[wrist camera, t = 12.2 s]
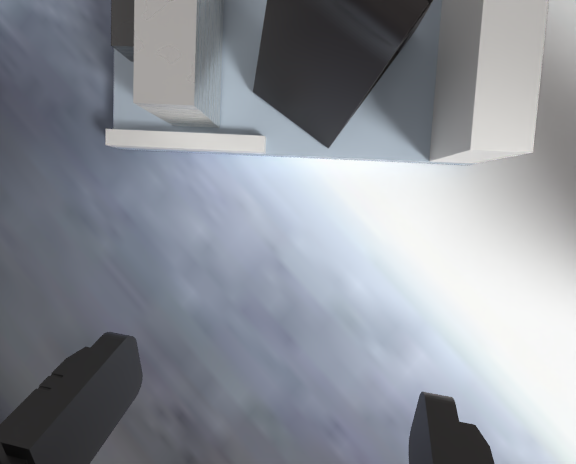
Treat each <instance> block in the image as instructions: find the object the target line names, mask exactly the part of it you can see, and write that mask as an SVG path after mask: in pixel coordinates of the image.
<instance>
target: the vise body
mask: <svg viewBox="0 0 576 464" xmlns="http://www.w3.org/2000/svg"><path fill="white" fill-rule="evenodd" d="M548 2H549V0H433V2H432V4H431V5H430V7H429V9H428V10H427V12H426V14H425V16H424V17H423V19H422V21H421V22H420V24H419V26H418V28H417V29H416V31H415V32H414V33H413V35H412V36H411V37H410V39H409V40H408V41H407V43H406V44H405V46H404V47H403V48H402V50H401V51H400V52H399V54H398V55H397V56H396V58H395V59H394V61H393V62H392V63H391V65H390V66H389V67H388V69H387V70H386V71H385V73H384V74H383V75H382V77H381V78H380V80H379V81H378V82H377V84H376V85H375V86H374V88H373V89H372V90H371V92H370V93H369V94H368V96H367V97H366V99H365V100H364V101H363V103H362V104H361V105H360V107H359V108H358V109H357V111H356V112H355V113H354V115H353V116H352V118H351V119H350V120H349V122H348V123H347V124H346V126H345V127H344V128H343V130H342V131H341V133H340V134H339V135H338V137H337V138H336V139H335V141H334V142H333V143H332V145H331V146H330V147H329V149H328V148H327V147H325V146H324V145H323V144H321V143H320V142H319V141H317V140H316V139H315V138H313V137H312V136H311V135H309V134H308V133H307V132H305V131H304V130H303V129H301V128H300V127H299V126H297V125H296V124H295V123H293V122H292V121H291V120H289V119H288V118H287V117H285V116H284V115H283V114H281V113H280V112H279V111H277V110H276V109H275V108H273V107H272V106H271V105H269V104H268V103H267V102H265V101H264V100H263V99H261V98H260V97H259V96H257V95H256V94H255V93H253V87H254V81H255V74H256V68H257V61H258V55H259V49H260V42H261V36H262V29H263V23H264V17H265V10H266V4H267V0H224V7H223V39H222V70H221V102H220V128H212V127H189V126H173V125H171V124H169V123H168V122H166V121H164V120H162V119H160V118H159V117H157V116H155V115H153V114H152V113H150V112H148V111H146V110H145V109H143V108H141V107H139V106H138V105H136V104H134V103H133V78H134V62H131V61H130V60H128V59H127V58H126V57H125V56H123V55H122V54H121V53H120V52H118V51H117V50H116V49H115V48H114V111H113V129H106V145H107V146H111V147H115V148H118V149H124V150H146V151H168V152H190V153H212V154H234V155H256V156H278V157H300V158H322V159H344V160H366V161H388V162H410V163H432V164H454V165H472V164H477V163H482V162H487V161H492V160H498V159H503V158H508V157H513V156H518V155H523V154H528V153H533V148H534V138H535V128H536V119H537V109H538V99H539V90H540V80H541V70H542V61H543V51H544V41H545V32H546V22H547V12H548Z"/></svg>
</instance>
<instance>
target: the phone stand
mask: <svg viewBox="0 0 576 464" xmlns="http://www.w3.org/2000/svg"><path fill="white" fill-rule="evenodd" d="M432 2H433V0H267V4H266V10H265V17H264V23H263V29H262V36H261V42H260V49H259V55H258V61H257V68H256V74H255V81H254V87H253V93H255V94H256V95H257V96H259V97H260V98H261V99H263V100H264V101H265V102H267V103H268V104H269V105H271V106H272V107H273V108H275V109H276V110H277V111H279V112H280V113H281V114H283V115H284V116H285V117H287V118H288V119H289V120H291V121H292V122H293V123H295V124H296V125H297V126H299V127H300V128H301V129H303V130H304V131H305V132H307V133H308V134H309V135H311V136H312V137H313V138H315V139H316V140H317V141H319V142H320V143H321V144H323V145H324V146H325V147H327V148H328V149H329V147H330V146H331V145H332V143H333V142H334V141H335V139H336V138H337V137H338V135H339V134H340V133H341V131H342V130H343V128H344V127H345V126H346V124H347V123H348V122H349V120H350V119H351V118H352V116H353V115H354V113H355V112H356V111H357V109H358V108H359V107H360V105H361V104H362V103H363V101H364V100H365V99H366V97H367V96H368V94H369V93H370V92H371V90H372V89H373V88H374V86H375V85H376V84H377V82H378V81H379V80H380V78H381V77H382V75H383V74H384V73H385V71H386V70H387V69H388V67H389V66H390V65H391V63H392V62H393V61H394V59H395V58H396V56H397V55H398V54H399V52H400V51H401V50H402V48H403V47H404V46H405V44H406V43H407V41H408V40H409V39H410V37H411V36H412V35H413V33H414V32H415V31H416V29H417V28H418V26H419V24H420V22H421V21H422V19H423V17H424V16H425V14H426V12H427V10H428V9H429V7H430V5H431V4H432Z"/></svg>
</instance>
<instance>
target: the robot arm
mask: <svg viewBox="0 0 576 464" xmlns="http://www.w3.org/2000/svg"><path fill="white" fill-rule="evenodd" d="M141 384H142V369H141V364H140V358H139V353H138V347H137V342H136V339H135V338H134V337H133V336H129V335H123V334H118V333H113V332H107V333H105V334H103V335H102V336H101V337H100V338H99V339H98V340H97V341H96V342H95V343H94V345H93V346H92V347H91V348H89V347H84V348H83V349H81V350H79V351H78V352H76V353H74V354H73V355H71V356H70V357H68V358H66V359H65V360H64V361H63V362H62V363H61V364H60V365H59V366H58V367H57V368H56V369H55V370H54V371H53V372H52V375H51V376H48V377H47V378H46V379H45V380H44V381H43V382H42V383H41V384H40V385H39V388H38V389H35V390H34V391H33V392H32V393H31V394H30V395H29V396H28V397H27V398H26V399H25V400H24V401H23V402H22V403H21V404H20V405H19V406H18V407H17V408H16V409H15V410H14V411H13V412H12V413H11V414H10V415H9V416H8V417H7V418H6V419H5V420H4V421H3V422H2V423H1V424H0V464H90V462H91V461H92V460H93V458H94V457H95V455H96V454H97V452H98V451H99V449H100V448H101V447H102V445H103V444H104V442H105V441H106V439H107V438H108V436H109V435H110V434H111V432H112V431H113V429H114V428H115V426H116V425H117V424H118V422H119V421H120V419H121V418H122V416H123V415H124V413H125V412H126V411H127V409H128V408H129V406H130V405H131V403H132V402H133V400H134V399H135V398H136V396H137V394H138V392H139V390H140V387H141ZM409 464H494V460H493V457H492V453H491V449H490V446H489V445H488V443H487V442H486V440H485V439H484V437H483V436H482V434H481V433H480V431H479V430H478V428H477V427H476V425H473V424H468V423H463V422H459V419H458V414H457V409H456V405H455V401H454V399H453V398H452V397H448V396H442V395H437V394H432V393H426V392H421V394H420V396H419V400H418V404H417V408H416V412H415V415H414V419H413V423H412V427H411V431H410V438H409Z"/></svg>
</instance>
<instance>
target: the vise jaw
mask: <svg viewBox="0 0 576 464" xmlns="http://www.w3.org/2000/svg"><path fill="white" fill-rule="evenodd" d="M223 7H224V0H112V5H111V46H112V47H113V48H115V49H116V50H117V51H118V52H120V53H121V54H122V55H123V56H125V57H126V58H127V59H128V60H130V61H131V62H134V78H133V103H134V104H136V105H138V106H139V107H141V108H143V109H145V110H146V111H148V112H150V113H152V114H153V115H155V116H157V117H159V118H160V119H162V120H164V121H166V122H168V123H169V124H171V125H173V126H189V127H212V128H220V102H221V70H222V39H223Z"/></svg>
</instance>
